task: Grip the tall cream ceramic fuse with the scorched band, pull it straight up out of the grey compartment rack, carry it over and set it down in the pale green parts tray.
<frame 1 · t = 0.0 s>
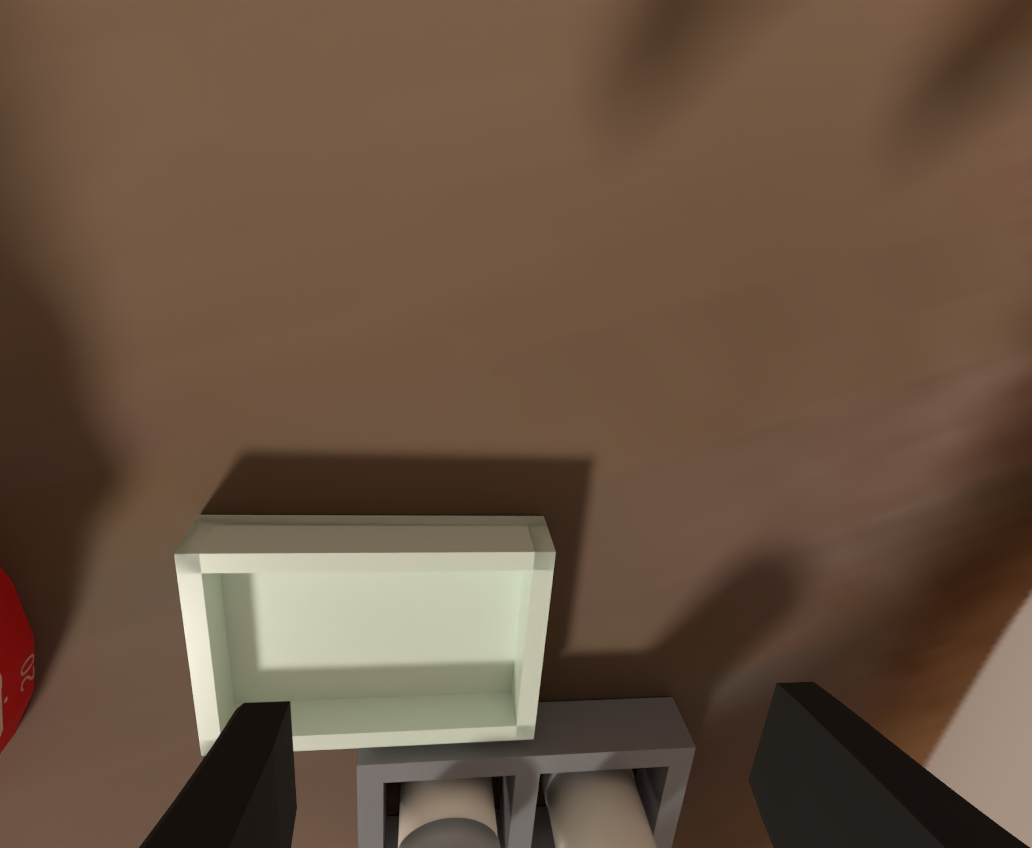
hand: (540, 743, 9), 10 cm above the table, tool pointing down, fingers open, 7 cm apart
grey compartment rack: (516, 765, 24), on the table
parts tray: (378, 612, 20), on the table
blown fuse: (582, 761, 24), resting in grey compartment rack
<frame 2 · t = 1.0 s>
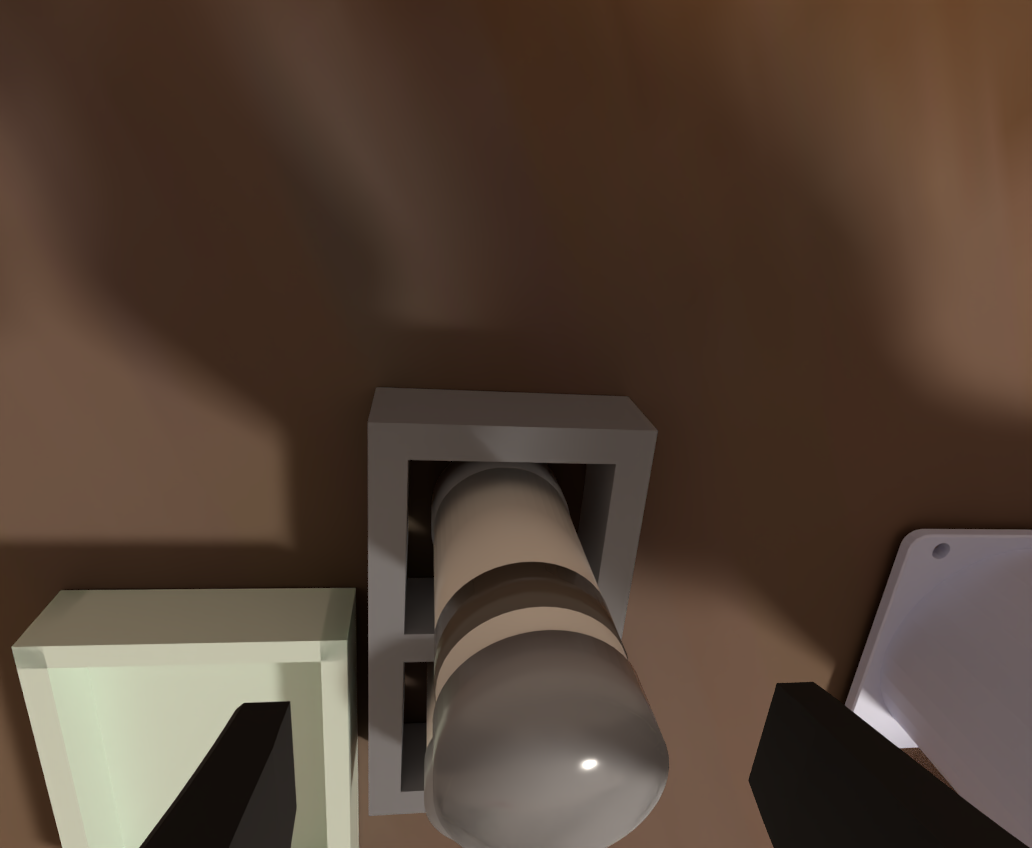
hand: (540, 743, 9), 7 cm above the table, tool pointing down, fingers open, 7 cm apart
grey compartment rack: (490, 586, 17), on the table
parts tray: (229, 738, 18), on the table
blown fuse: (496, 503, 16), resting in grey compartment rack
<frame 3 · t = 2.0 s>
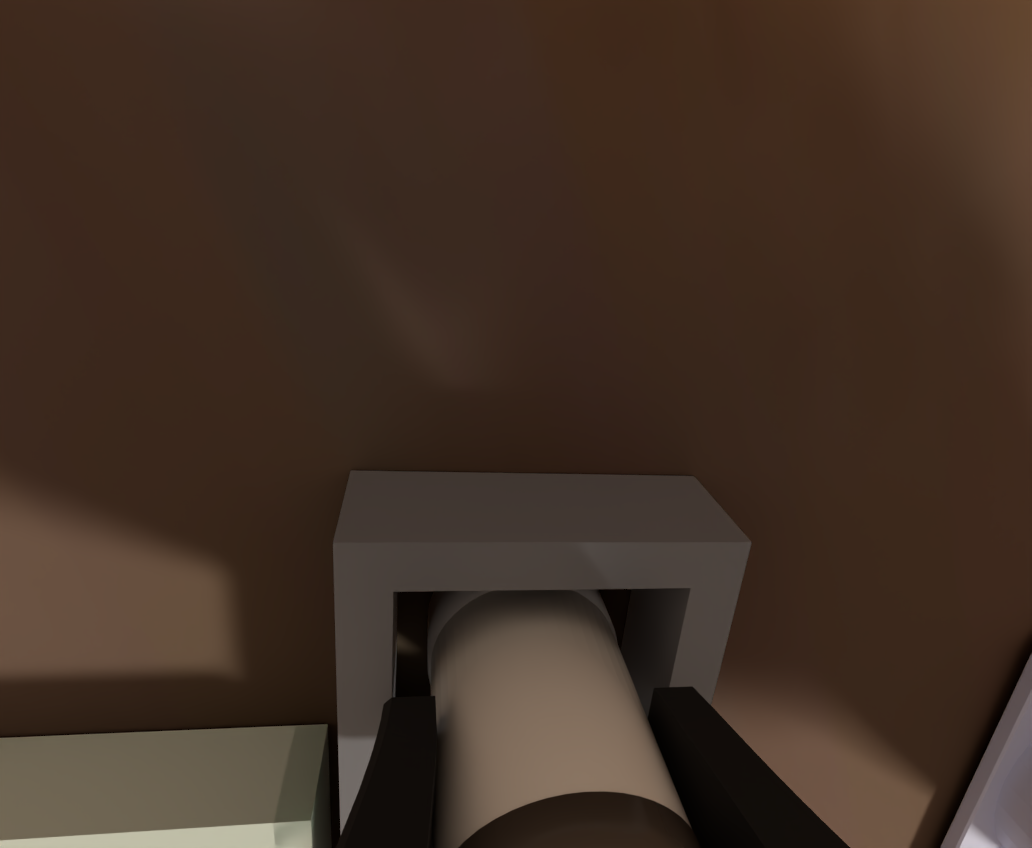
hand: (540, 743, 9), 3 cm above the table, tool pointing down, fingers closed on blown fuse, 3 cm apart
grey compartment rack: (505, 716, 13), on the table
blown fuse: (515, 615, 12), resting in grey compartment rack, touching gripper
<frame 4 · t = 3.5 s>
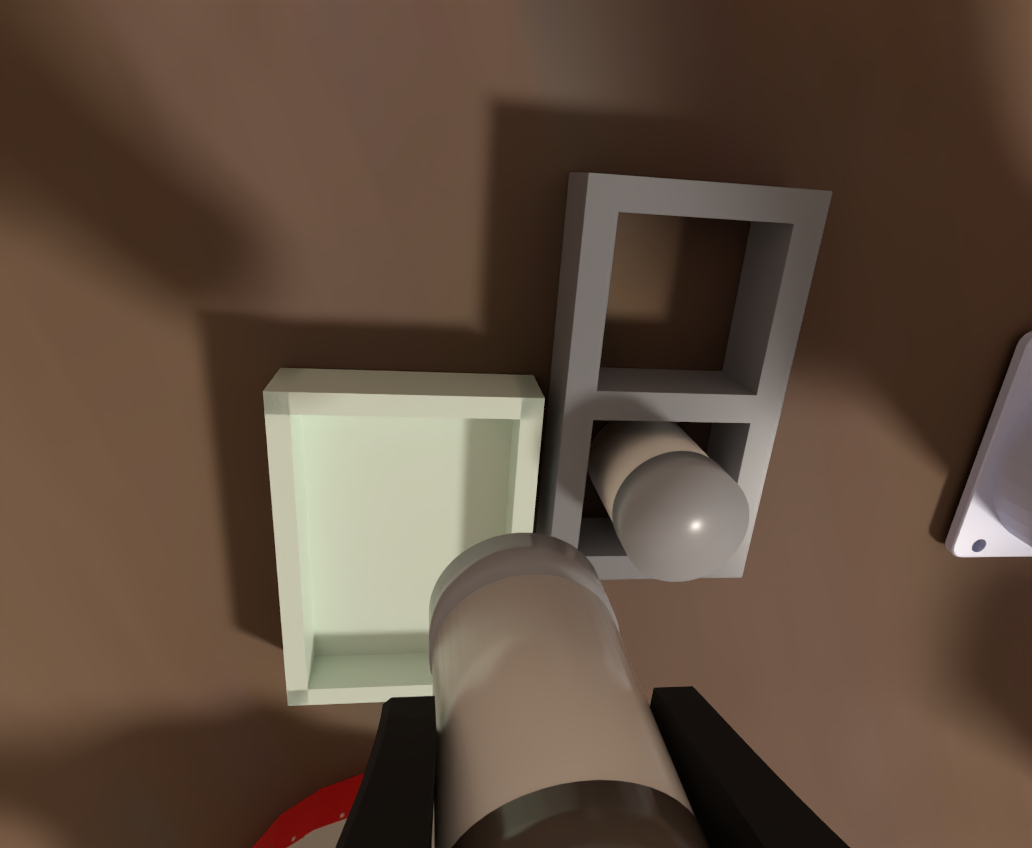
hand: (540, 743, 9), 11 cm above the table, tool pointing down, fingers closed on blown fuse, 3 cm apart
grey compartment rack: (649, 378, 19), on the table
parts tray: (408, 526, 20), on the table
blown fuse: (517, 608, 12), point 8 cm above the table, touching gripper
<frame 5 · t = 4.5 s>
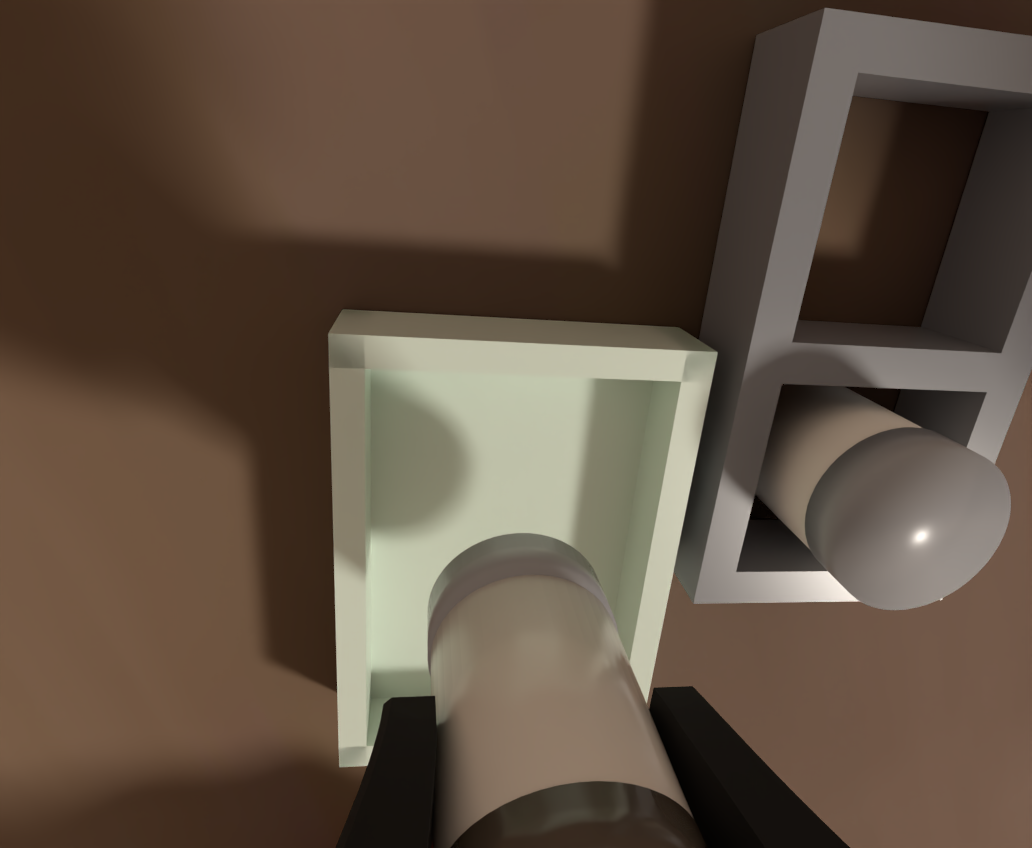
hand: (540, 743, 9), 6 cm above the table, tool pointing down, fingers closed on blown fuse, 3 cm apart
grey compartment rack: (828, 335, 14), on the table
parts tray: (499, 529, 15), on the table
blown fuse: (515, 608, 12), point 3 cm above the table, touching gripper
when the fingers open (5 cm above the table, at t = 5.1 s): blown fuse drops 1 cm, resting on parts tray.
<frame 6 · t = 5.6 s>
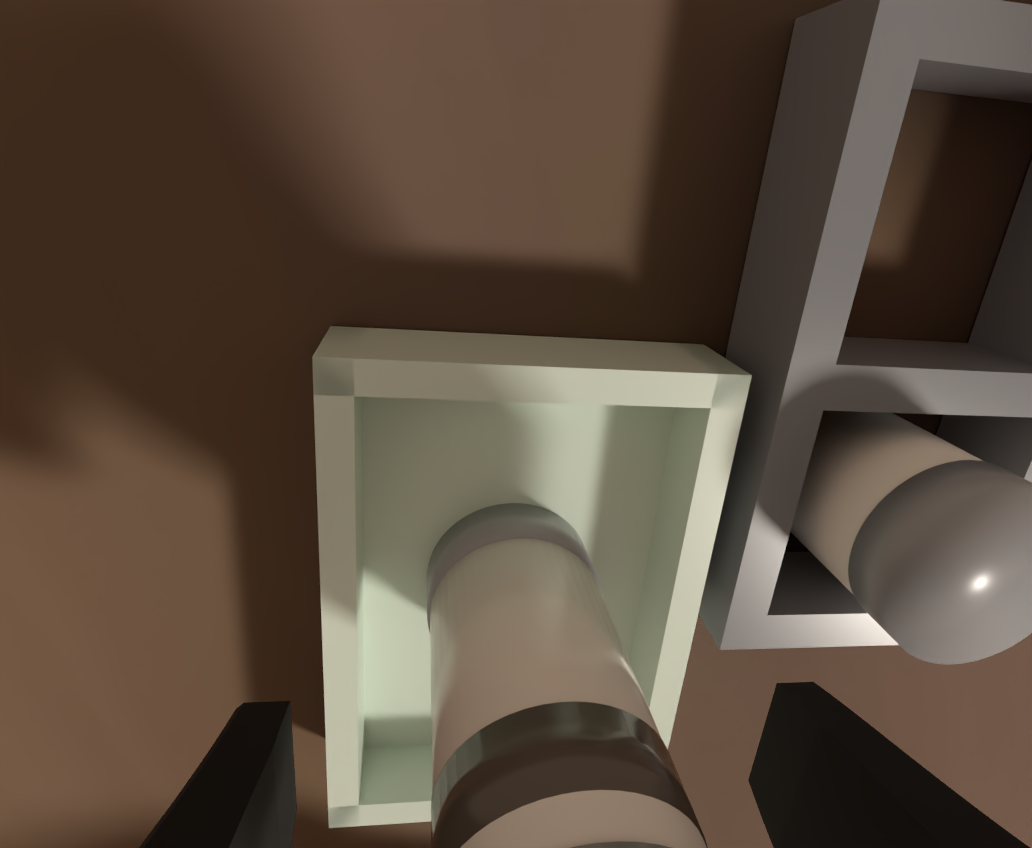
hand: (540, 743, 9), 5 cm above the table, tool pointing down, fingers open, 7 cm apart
grey compartment rack: (866, 352, 13), on the table
parts tray: (505, 564, 14), on the table
blown fuse: (508, 574, 13), point 1 cm above the table, touching parts tray
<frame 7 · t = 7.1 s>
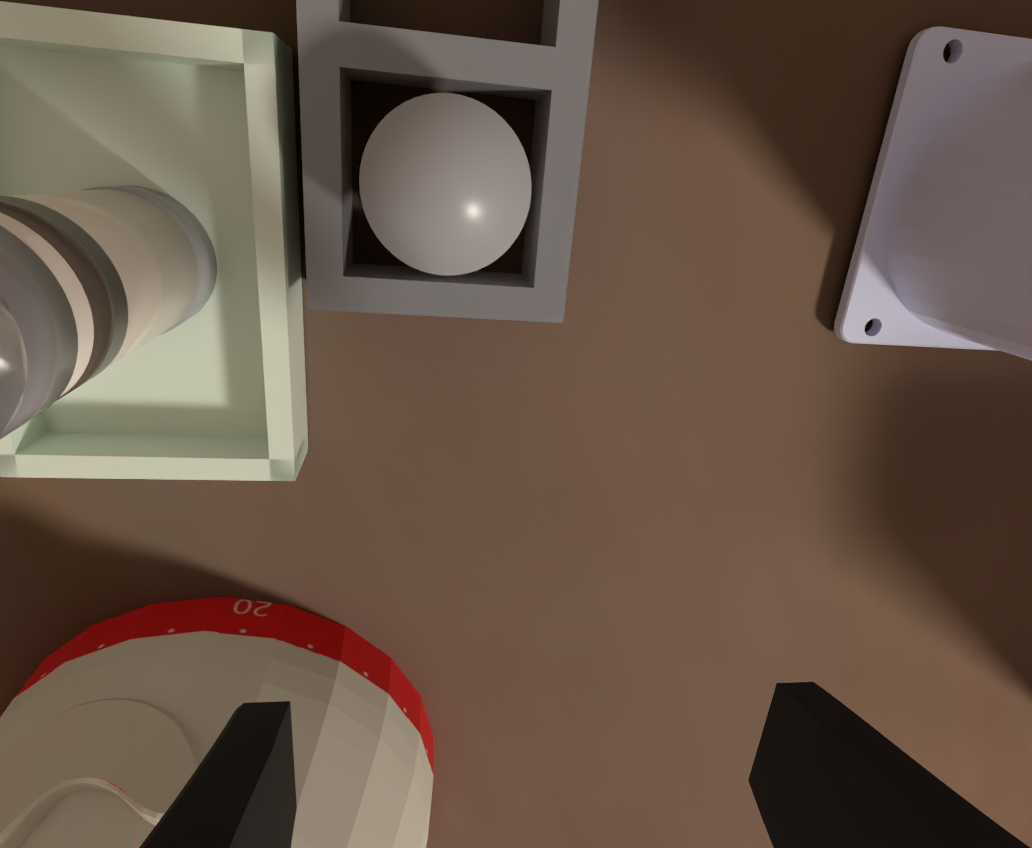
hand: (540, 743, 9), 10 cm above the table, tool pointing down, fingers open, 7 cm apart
grey compartment rack: (446, 66, 15), on the table
parts tray: (154, 262, 16), on the table
kitchen timer: (233, 756, 22), on the table
blown fuse: (143, 258, 15), point 1 cm above the table, touching parts tray
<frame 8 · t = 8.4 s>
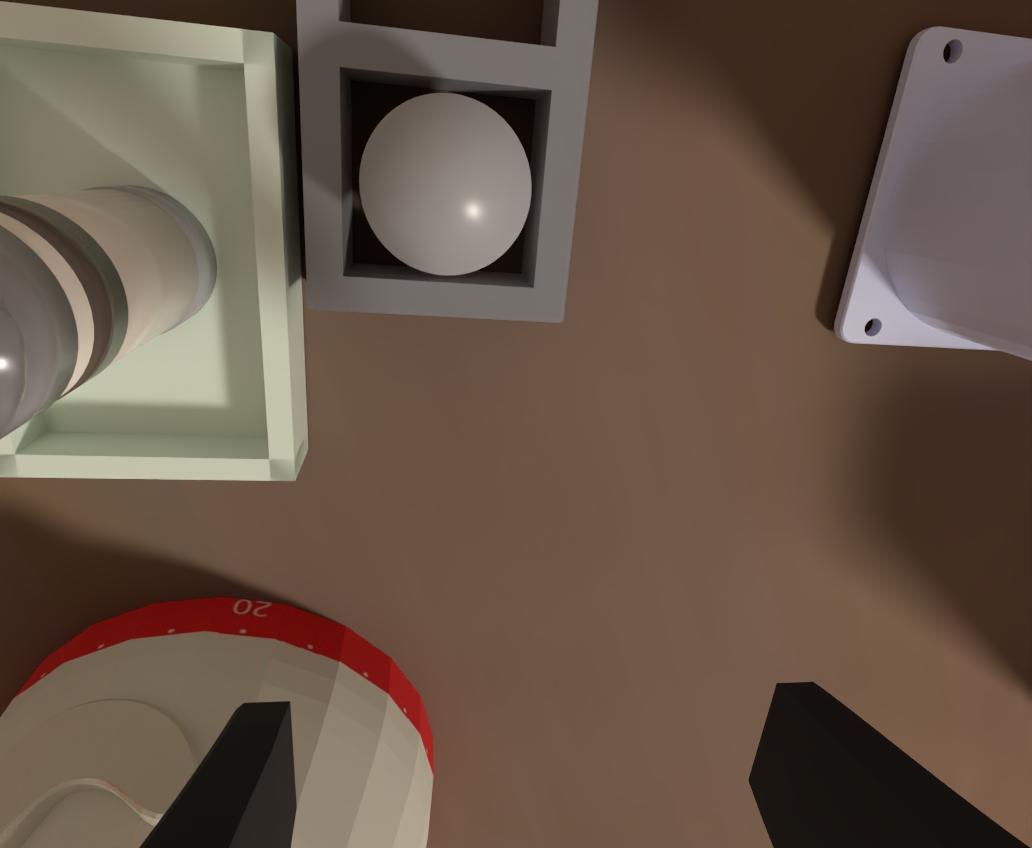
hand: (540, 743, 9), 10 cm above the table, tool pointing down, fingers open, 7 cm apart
grey compartment rack: (446, 66, 15), on the table
parts tray: (154, 262, 16), on the table
kitchen timer: (233, 756, 22), on the table
blown fuse: (143, 258, 15), point 1 cm above the table, touching parts tray
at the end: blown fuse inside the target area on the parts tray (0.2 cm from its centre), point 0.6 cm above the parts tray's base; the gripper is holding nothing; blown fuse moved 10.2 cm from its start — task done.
